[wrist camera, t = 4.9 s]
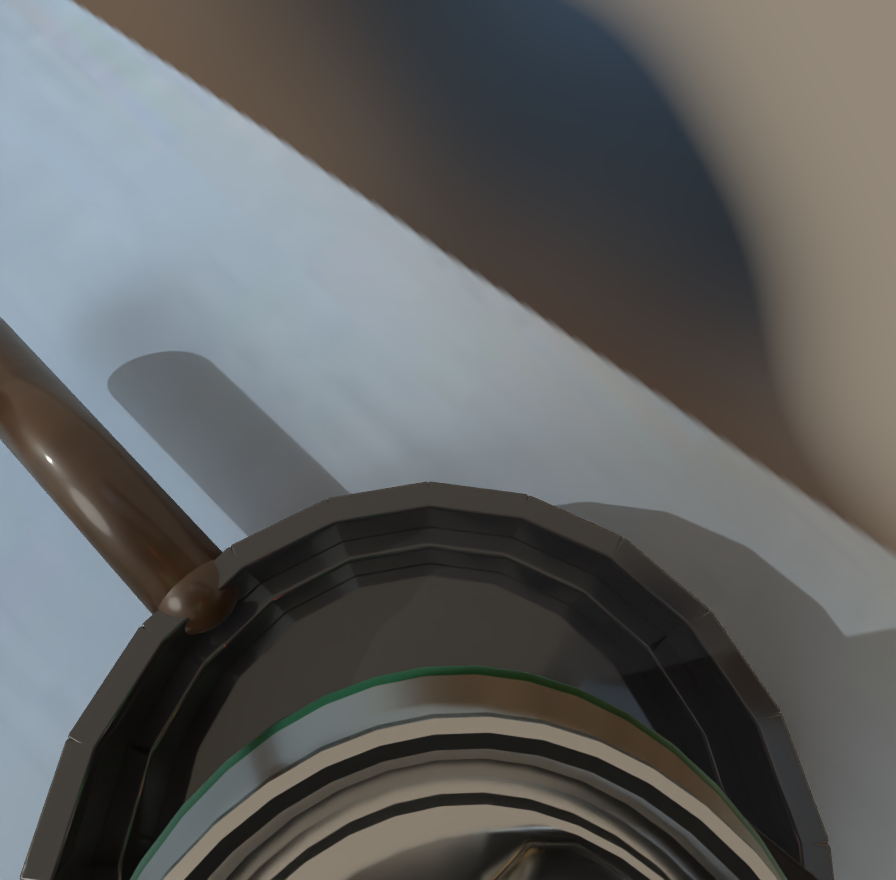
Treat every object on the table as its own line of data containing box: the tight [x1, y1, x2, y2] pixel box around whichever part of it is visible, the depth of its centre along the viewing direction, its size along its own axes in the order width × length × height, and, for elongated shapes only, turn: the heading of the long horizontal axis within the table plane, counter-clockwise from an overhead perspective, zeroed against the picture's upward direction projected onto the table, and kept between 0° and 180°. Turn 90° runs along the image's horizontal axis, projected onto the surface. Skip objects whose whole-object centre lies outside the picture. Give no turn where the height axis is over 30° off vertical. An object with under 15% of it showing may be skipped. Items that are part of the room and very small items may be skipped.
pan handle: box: [0, 317, 240, 634], centre depth 15 cm, size 11×2×2 cm, turn 47°
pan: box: [20, 482, 834, 880], centre depth 13 cm, size 14×14×3 cm
